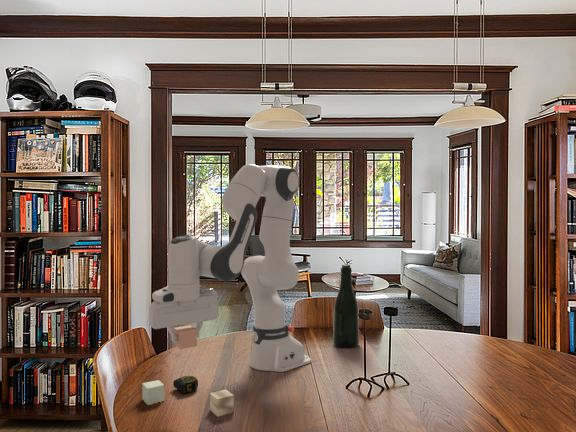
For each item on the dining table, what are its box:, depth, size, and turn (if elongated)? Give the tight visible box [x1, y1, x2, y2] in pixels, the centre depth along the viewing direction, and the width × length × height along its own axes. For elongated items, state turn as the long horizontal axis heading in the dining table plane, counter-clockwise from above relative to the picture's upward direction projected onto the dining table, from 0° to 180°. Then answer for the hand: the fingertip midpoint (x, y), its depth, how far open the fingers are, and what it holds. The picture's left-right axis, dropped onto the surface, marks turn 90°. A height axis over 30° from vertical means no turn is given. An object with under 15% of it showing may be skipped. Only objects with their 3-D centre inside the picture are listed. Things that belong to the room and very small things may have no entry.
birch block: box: [209, 389, 235, 417], centre depth 141 cm, size 5×5×5 cm
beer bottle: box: [332, 263, 360, 349], centre depth 202 cm, size 10×10×33 cm
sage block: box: [141, 379, 165, 406], centre depth 148 cm, size 5×5×5 cm
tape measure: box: [172, 375, 199, 395], centre depth 156 cm, size 7×7×4 cm
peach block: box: [173, 324, 198, 350], centre depth 144 cm, size 5×5×5 cm
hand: (185, 338), depth 145 cm, fingers closed on peach block, 5 cm apart
